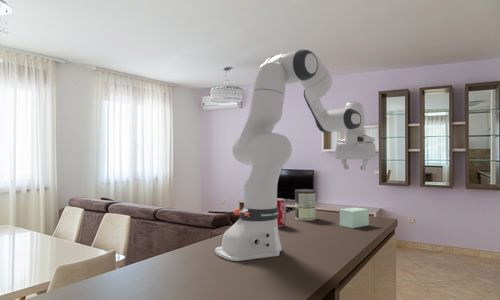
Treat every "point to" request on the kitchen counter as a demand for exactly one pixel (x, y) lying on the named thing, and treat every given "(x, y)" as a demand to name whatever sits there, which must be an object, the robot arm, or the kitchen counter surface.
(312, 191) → the coffee can
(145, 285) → the kitchen counter surface
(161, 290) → the kitchen counter surface
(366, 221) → the mint green block
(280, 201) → the soda can
